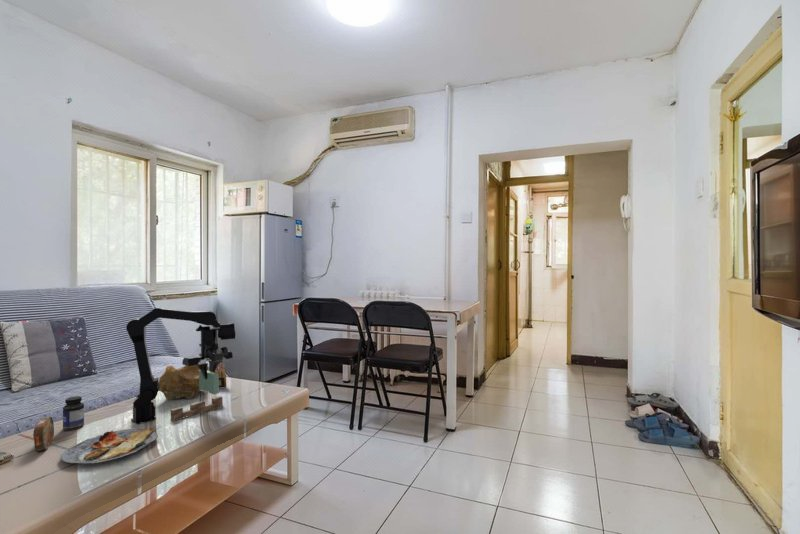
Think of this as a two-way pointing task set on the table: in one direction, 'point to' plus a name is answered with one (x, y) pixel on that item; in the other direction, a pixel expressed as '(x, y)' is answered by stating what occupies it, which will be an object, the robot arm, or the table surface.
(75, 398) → the pill bottle
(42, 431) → the brown patterned slab
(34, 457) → the table surface
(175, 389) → the rough brown rock
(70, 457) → the food plate
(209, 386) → the notched crosspiece
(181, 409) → the notched base plate
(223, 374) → the ammunition clip
